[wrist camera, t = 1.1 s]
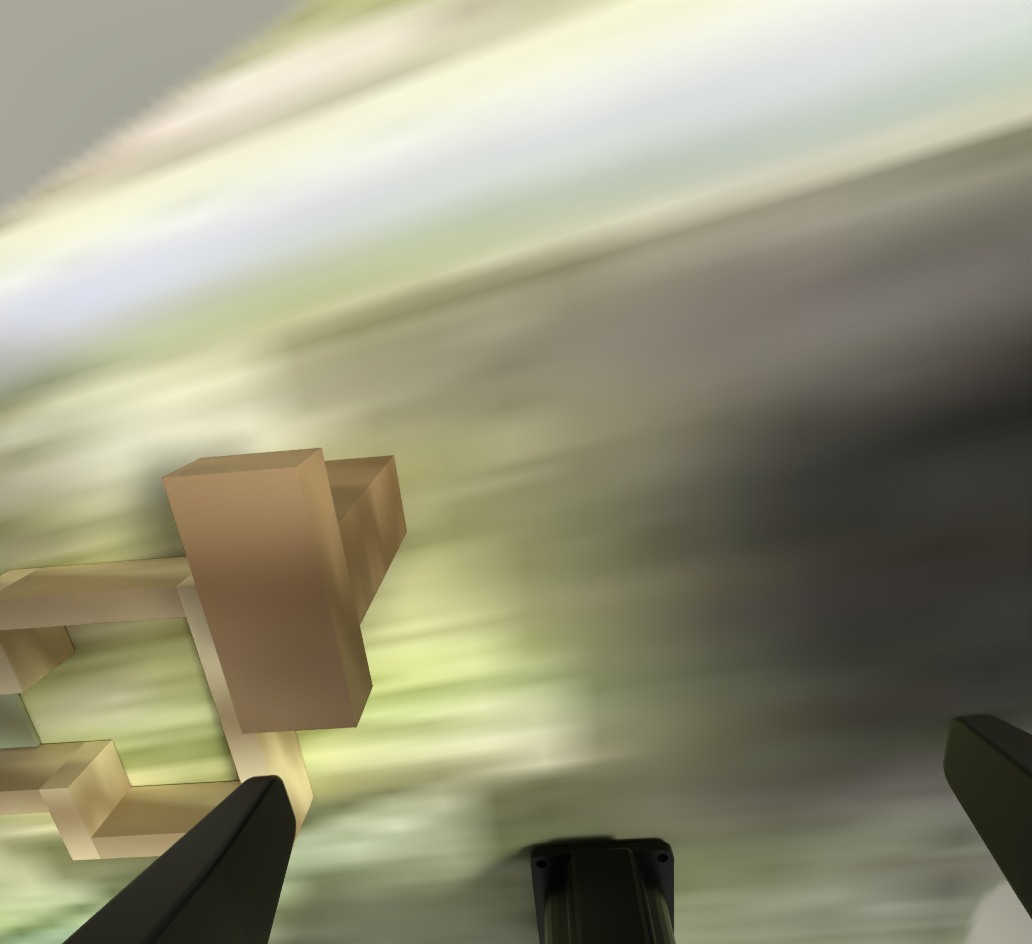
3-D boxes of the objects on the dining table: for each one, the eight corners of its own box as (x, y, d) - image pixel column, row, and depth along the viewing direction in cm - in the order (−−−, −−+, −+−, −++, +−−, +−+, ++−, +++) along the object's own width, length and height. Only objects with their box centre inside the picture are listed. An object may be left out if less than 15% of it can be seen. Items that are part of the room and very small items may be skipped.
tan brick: (414, 579, 21) (356, 727, 14) (338, 584, 21) (242, 733, 14) (384, 400, 19) (295, 466, 12) (299, 407, 19) (161, 478, 12)
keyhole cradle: (313, 797, 25) (291, 848, 22) (-54, 817, 25) (-111, 869, 23) (245, 551, 21) (210, 584, 18) (-186, 585, 21) (-271, 619, 19)
